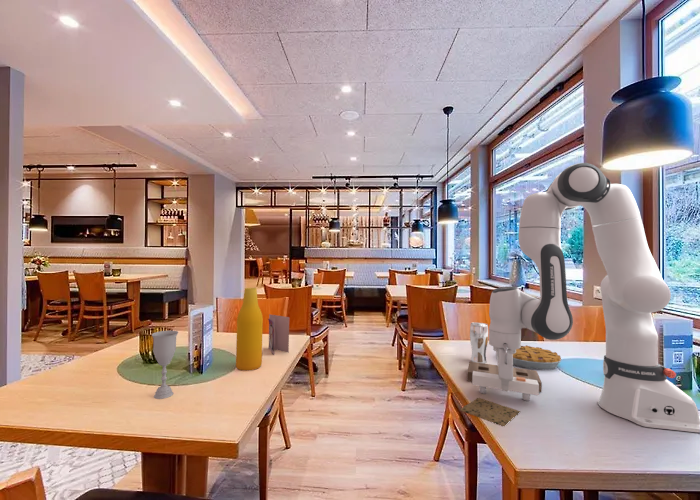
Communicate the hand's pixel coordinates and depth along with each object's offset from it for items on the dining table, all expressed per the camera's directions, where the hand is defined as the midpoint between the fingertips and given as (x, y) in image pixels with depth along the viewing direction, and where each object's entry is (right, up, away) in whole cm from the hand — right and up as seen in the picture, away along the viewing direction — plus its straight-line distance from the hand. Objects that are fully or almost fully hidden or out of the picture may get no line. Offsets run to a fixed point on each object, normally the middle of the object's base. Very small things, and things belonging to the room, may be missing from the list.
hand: (504, 385), depth 100 cm
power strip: (0, -3, 0) cm, 3 cm away
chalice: (-102, -1, -4) cm, 102 cm away
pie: (+26, -5, +33) cm, 43 cm away
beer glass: (+5, -4, +33) cm, 33 cm away
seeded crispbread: (-8, -3, -10) cm, 14 cm away
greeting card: (-78, -3, +42) cm, 88 cm away
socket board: (+5, -3, +13) cm, 14 cm away
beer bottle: (-84, -2, +21) cm, 87 cm away
